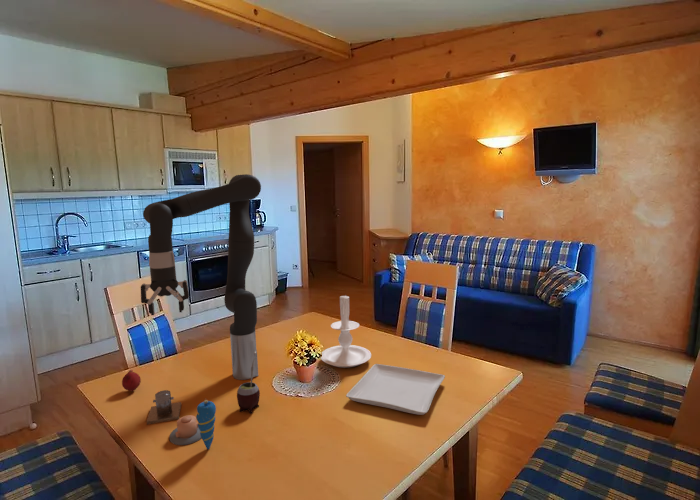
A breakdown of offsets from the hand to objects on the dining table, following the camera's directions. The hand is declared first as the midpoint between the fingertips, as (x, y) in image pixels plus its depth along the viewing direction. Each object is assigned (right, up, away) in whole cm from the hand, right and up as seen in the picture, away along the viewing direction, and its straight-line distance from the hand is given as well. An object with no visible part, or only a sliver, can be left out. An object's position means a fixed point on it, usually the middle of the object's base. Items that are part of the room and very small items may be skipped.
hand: (167, 313), depth 137 cm
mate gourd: (+28, -31, -2) cm, 41 cm away
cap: (+13, -32, -16) cm, 39 cm away
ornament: (+22, -34, -23) cm, 46 cm away
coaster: (+13, -33, -16) cm, 39 cm away
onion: (-17, -29, +10) cm, 35 cm away
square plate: (+77, -29, +5) cm, 82 cm away
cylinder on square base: (+2, -31, -5) cm, 32 cm away
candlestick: (+59, -24, +33) cm, 72 cm away
